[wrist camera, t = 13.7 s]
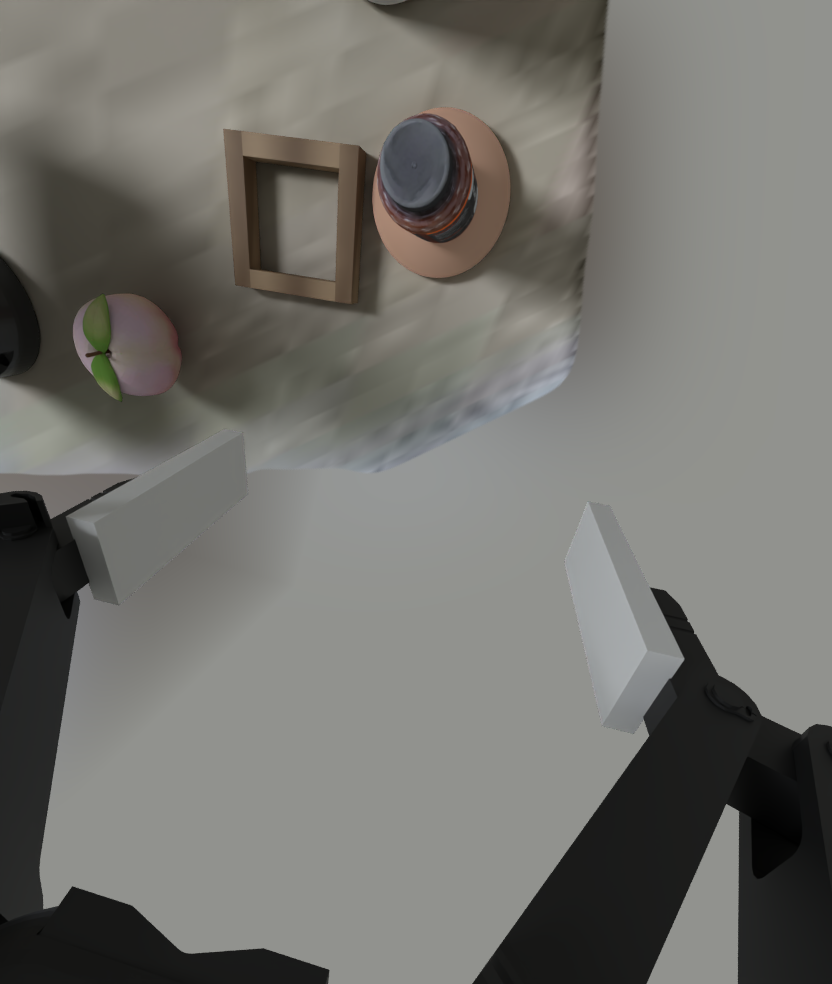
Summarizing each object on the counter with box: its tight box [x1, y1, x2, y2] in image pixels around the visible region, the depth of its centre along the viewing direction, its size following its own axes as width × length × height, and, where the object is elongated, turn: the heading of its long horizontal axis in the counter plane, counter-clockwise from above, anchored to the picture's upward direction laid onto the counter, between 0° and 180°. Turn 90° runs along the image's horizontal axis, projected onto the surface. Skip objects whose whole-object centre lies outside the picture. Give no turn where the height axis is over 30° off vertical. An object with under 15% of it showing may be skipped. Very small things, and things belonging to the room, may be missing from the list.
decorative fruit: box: [73, 293, 182, 402], centre depth 38 cm, size 9×8×10 cm
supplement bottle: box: [377, 113, 478, 243], centre depth 27 cm, size 6×6×11 cm
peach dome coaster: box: [372, 107, 511, 278], centre depth 33 cm, size 11×11×1 cm
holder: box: [223, 129, 366, 304], centre depth 35 cm, size 11×11×2 cm
